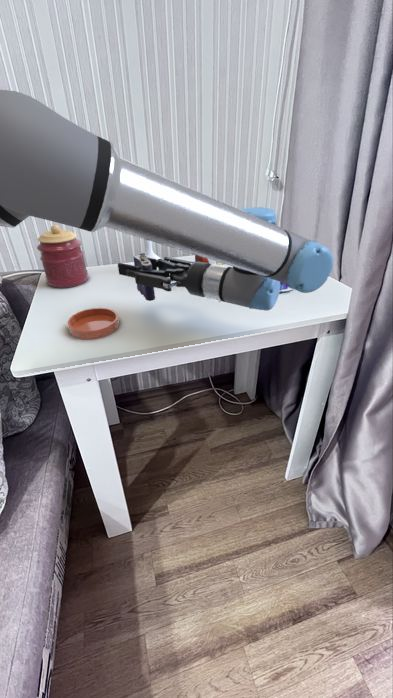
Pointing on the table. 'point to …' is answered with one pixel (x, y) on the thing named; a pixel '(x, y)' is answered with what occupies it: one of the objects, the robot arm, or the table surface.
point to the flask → (145, 264)
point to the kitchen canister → (62, 258)
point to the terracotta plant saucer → (93, 323)
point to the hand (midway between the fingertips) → (127, 264)
